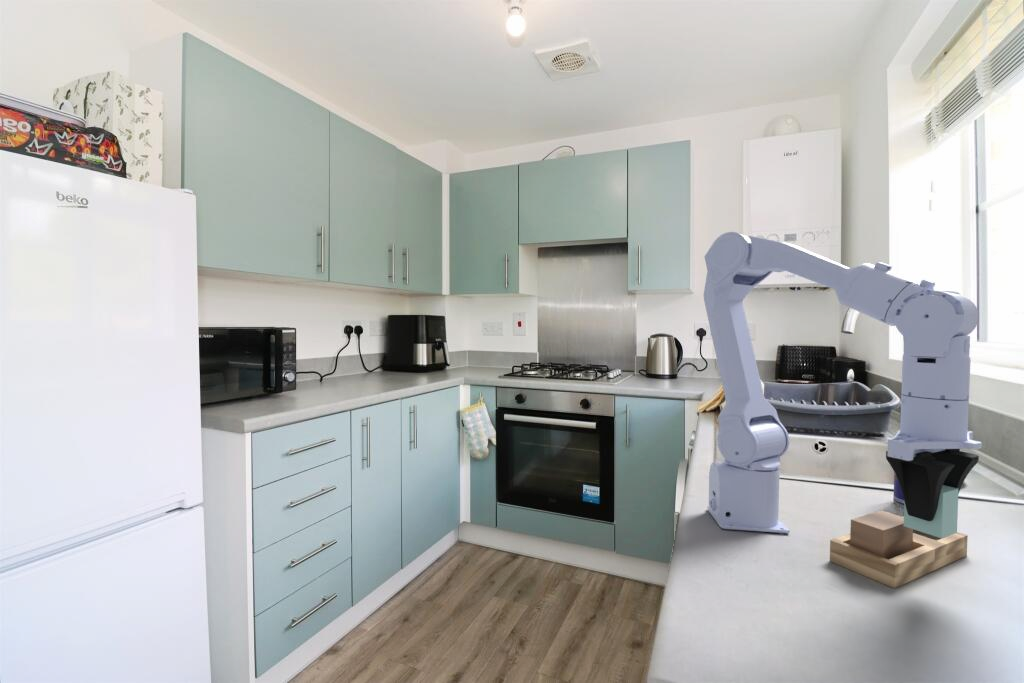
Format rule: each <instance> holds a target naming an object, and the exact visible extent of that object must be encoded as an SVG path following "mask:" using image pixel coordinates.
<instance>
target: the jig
mask: <svg viewBox="0 0 1024 683" xmlns="http://www.w3.org/2000/svg"><path fill="white" fill-rule="evenodd" d="M901 517H904V515H903V516H901ZM968 536H969V535H968V534H964V533H961V532H958V531H957V533H955V534H952V535H949V536H946V537H944V538H939V537H936V536H933V535H930V534H927V533H923V532H920V531H917V530H914V529H913V548H912V551H909V552H907V553H904V554H902V555H899V556H897V557H894V558H892V559H889V560H888V559H886V558H883V557H881V556H878V555H875V554H873V553H870V552H867V551H865V550H862V549H860V548H857V547H854V546H852V545H850V533H848V534H847V533H846V534H845V535H841V536H838V537H835V538H832V539H830V540H829V543H830V544H829V547H830V548H829V562H831V563H833V564H836V565H838V566H841V567H843V568H845V569H848V570H851V571H853V572H855V573H858V574H860V575H863V576H865V577H867V578H868V579H872V580H874V581H876V582H879V583H881V584H883V585H885V586H888V587H891V588H893V589H896V588H899V587H901V586H903V585H905V584H908V583H909V582H912V581H914V580H917V579H918V578H921V577H923V576H924V575H927V574H930V573H932V572H933V571H936V570H938V569H940V568H943V567H945V566H948V565H949V564H952V563H954V562H957V561H958V560H960V559H963V558H964V557H967V556H968Z"/></svg>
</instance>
